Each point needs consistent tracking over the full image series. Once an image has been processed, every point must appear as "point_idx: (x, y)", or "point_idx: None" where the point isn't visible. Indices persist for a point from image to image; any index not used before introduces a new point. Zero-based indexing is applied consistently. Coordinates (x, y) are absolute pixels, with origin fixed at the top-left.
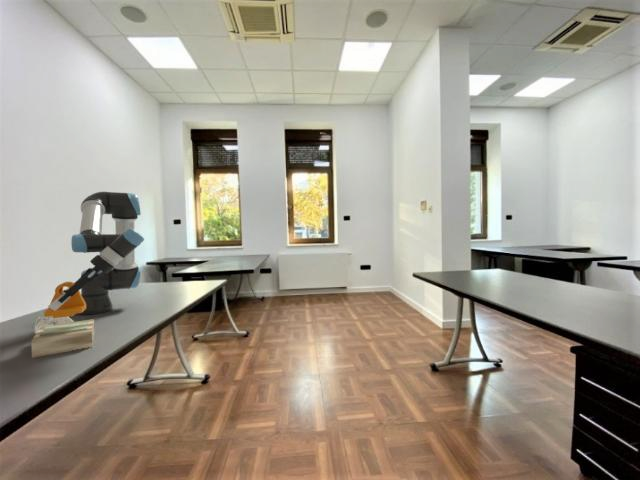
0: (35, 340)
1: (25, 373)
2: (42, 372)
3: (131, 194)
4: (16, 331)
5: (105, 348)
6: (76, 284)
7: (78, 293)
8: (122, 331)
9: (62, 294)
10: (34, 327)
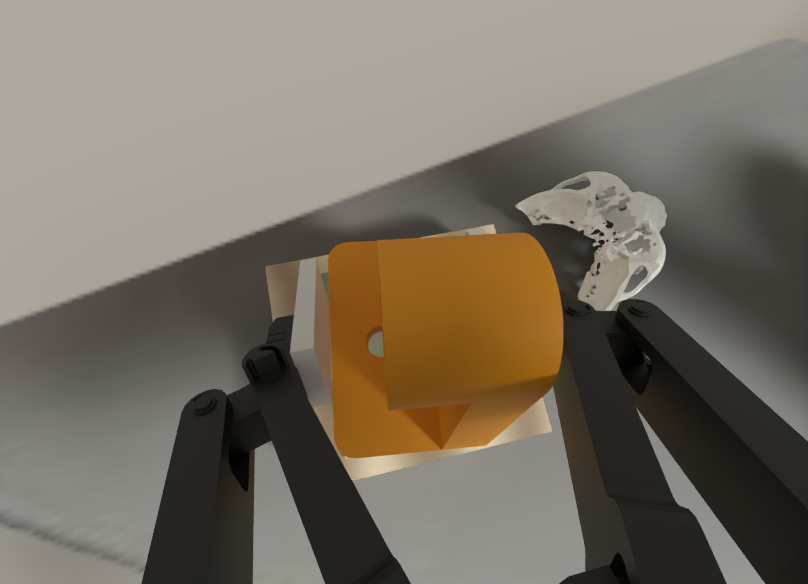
0: (268, 279)
1: (128, 324)
2: (104, 375)
3: None
4: (650, 115)
5: (264, 537)
6: (167, 534)
7: (456, 423)
8: (504, 554)
9: (292, 337)
10: (556, 185)
